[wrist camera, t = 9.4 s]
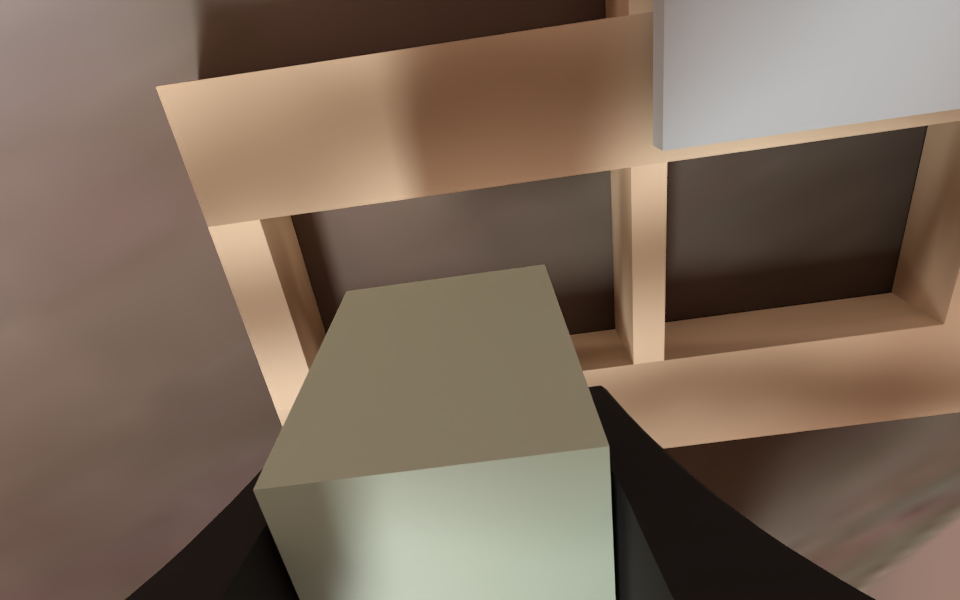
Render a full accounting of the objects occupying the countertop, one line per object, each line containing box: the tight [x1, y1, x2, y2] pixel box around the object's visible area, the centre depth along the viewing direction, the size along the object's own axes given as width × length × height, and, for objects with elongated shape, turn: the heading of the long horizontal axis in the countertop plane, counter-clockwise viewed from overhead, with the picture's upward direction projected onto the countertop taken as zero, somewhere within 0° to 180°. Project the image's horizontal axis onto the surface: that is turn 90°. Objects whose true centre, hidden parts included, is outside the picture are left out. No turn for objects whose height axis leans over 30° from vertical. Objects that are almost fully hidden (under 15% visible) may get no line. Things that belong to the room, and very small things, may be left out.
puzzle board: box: [156, 0, 960, 449], centre depth 16 cm, size 18×24×2 cm
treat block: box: [253, 264, 616, 600], centre depth 10 cm, size 4×4×6 cm
